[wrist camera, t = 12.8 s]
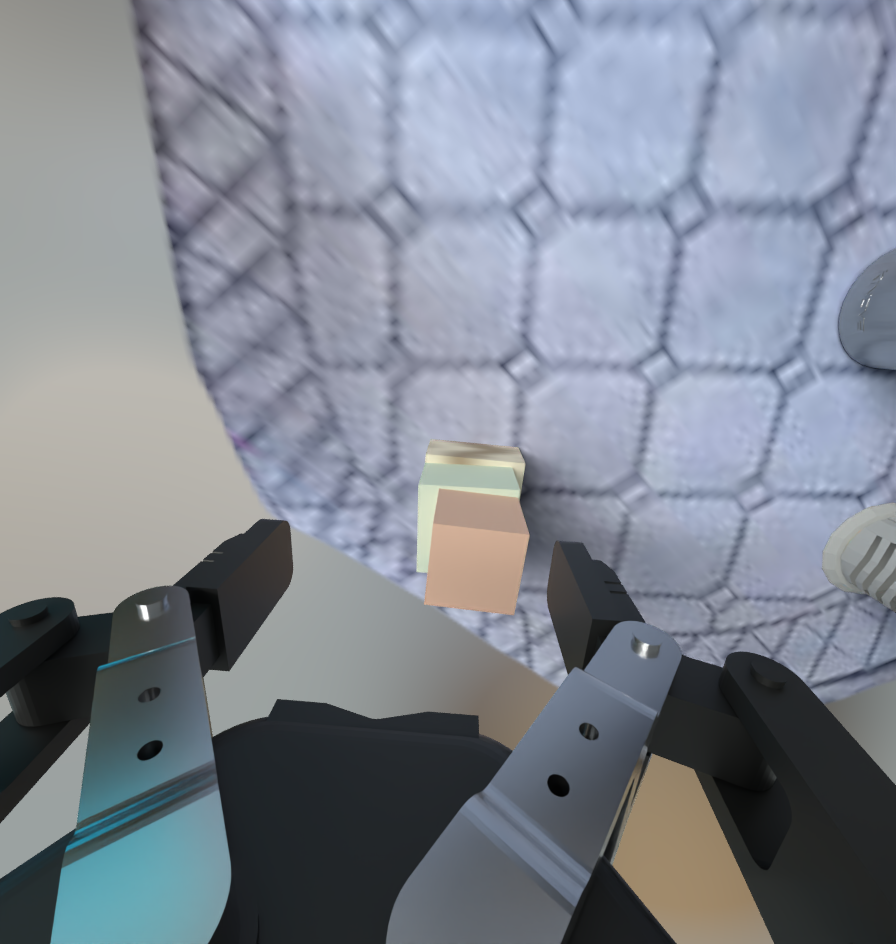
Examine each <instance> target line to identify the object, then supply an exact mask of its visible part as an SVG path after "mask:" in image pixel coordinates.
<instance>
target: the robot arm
mask: <svg viewBox="0 0 896 944" xmlns="http://www.w3.org/2000/svg"><path fill="white" fill-rule="evenodd" d="M839 333H840V339H841V342H842V344H843V346H844V348H845V350H846V352H847V353H848V354H849V355H850V356H851V357H852V358H853V359H854V360H856V361H857V362H859V363H860V364H862V365H865V366H868V367H871V368H881V369H892V370H896V249H894V250H892V251H890V252H888V253H886V254H884V255H883V256H881V257H880V258H878V259H877V260H876V261H875V262H873V263H872V264H871V265H869V266H868V267H867V268H866V269H865V270H864V272H863V273H862V274H861V275H860V276H859V277H858V278H857V279H856V281H855V282H854V284H853V285H852V287H851V288H850V290H849V292H848V294H847V296H846V298H845V300H844V302H843V305H842V309H841V313H840V317H839ZM292 574H293V560H292V546H291V532H290V525H289V523H288V522H287V521H283V520H270V519H260V520H259V521H258V522H256V523H255V524H254V525H253V526H252V527H251V528H250V529H249V530H248V531H246V533H244V534H239V535H237V536H235V537H233V538H230V539H228V540H226V541H224V542H223V543H222V544H221V545H219V547H217V548H216V549H215V550H214V551H213V553H210V554H209V555H208V556H207V557H206V558H204V559H203V562H200V563H199V564H198V565H196V566H195V567H194V568H193V569H192V570H190V571H189V572H188V573H187V574H186V575H185V576H184V577H182V578H181V579H180V580H179V581H178V582H177V583H175V584H174V585H173V586H160V587H154V588H150V589H146V590H144V591H140V592H138V593H136V594H134V595H132V596H130V597H128V598H127V599H125V600H124V601H122V602H121V603H120V604H119V605H118V606H117V607H116V608H115V610H114V612H113V613H105V614H97V615H89V616H80V617H78V616H77V613H76V609H75V606H74V603H73V601H72V600H70V599H67V598H61V597H52V598H44V599H38V600H34V601H30V602H27V603H24V604H21V605H18V606H16V607H13V608H11V609H9V610H7V611H4V612H3V613H1V614H0V697H2V696H3V695H4V694H5V693H6V695H7V697H8V700H9V702H10V705H11V708H12V710H13V711H12V712H11V713H10V714H9V715H8V716H6V717H5V718H4V719H3V720H2V721H1V722H0V823H1V822H2V821H3V820H4V819H5V817H6V816H7V815H8V814H9V813H10V812H11V811H12V809H13V808H14V807H15V806H16V805H17V804H18V803H19V801H21V800H22V798H23V797H24V796H25V795H26V794H27V793H28V792H29V791H30V789H31V788H32V787H33V786H34V785H35V784H36V783H37V781H39V779H40V778H41V777H42V776H43V775H44V774H45V773H46V772H47V770H48V769H49V768H50V767H51V766H52V765H53V764H54V763H55V761H56V760H57V759H58V758H59V757H60V756H61V755H62V754H63V753H64V751H65V750H66V749H67V748H68V747H69V746H70V745H71V744H72V742H73V741H74V740H75V739H76V738H77V737H78V735H80V734H81V732H82V731H83V730H84V729H85V728H86V727H87V726H88V724H89V723H90V727H89V734H88V742H87V749H86V757H85V765H84V772H83V780H82V788H81V796H80V803H79V811H78V818H77V825H76V828H75V829H74V830H73V831H71V832H69V833H68V834H66V835H65V836H63V837H62V838H60V839H59V840H58V841H56V842H55V843H53V844H52V845H50V846H49V847H47V848H46V849H44V850H43V851H41V852H40V853H38V854H37V855H35V856H34V857H32V858H31V859H29V860H28V861H26V862H25V863H23V864H22V865H20V866H19V867H17V868H16V869H14V870H13V871H11V872H10V873H9V874H7V875H5V876H4V877H2V878H1V879H0V944H676V943H675V941H674V940H673V939H672V938H671V936H670V935H669V934H668V933H667V932H666V931H665V929H664V928H663V927H662V926H661V924H660V923H659V922H658V921H657V919H656V918H655V917H654V916H653V915H652V913H651V912H650V911H649V910H648V909H647V907H646V906H645V905H644V904H643V902H642V901H641V900H640V899H639V898H638V896H637V895H636V894H635V893H634V891H633V890H632V889H631V888H630V887H629V885H628V884H627V883H626V882H625V881H624V879H623V878H622V877H621V876H620V874H619V873H618V872H617V871H616V870H615V868H614V867H613V866H612V864H613V861H614V858H615V855H616V852H617V849H618V847H619V843H620V840H621V837H622V834H623V831H624V829H625V826H626V823H627V820H628V817H629V815H630V812H631V810H632V807H633V804H634V802H635V799H636V796H637V793H638V790H639V788H640V786H641V783H642V780H643V778H644V775H645V772H646V770H647V767H648V764H649V762H650V759H651V756H652V754H655V755H658V756H661V757H663V758H666V759H668V760H671V761H674V762H677V763H679V764H682V765H685V766H687V767H690V768H692V769H694V770H695V772H696V774H697V777H698V779H699V781H700V783H701V785H702V788H703V790H704V792H705V794H706V796H707V798H708V801H709V803H710V805H711V807H712V809H713V811H714V814H715V816H716V818H717V820H718V822H719V824H720V827H721V829H722V831H723V833H724V835H725V838H726V840H727V842H728V844H729V846H730V848H731V850H732V853H733V855H734V857H735V859H736V861H737V864H738V866H739V868H740V870H741V872H742V875H743V877H744V879H745V881H746V883H747V885H748V887H749V890H750V892H751V894H752V896H753V898H754V901H755V903H756V905H757V907H758V909H759V911H760V914H761V916H762V918H763V920H764V922H765V925H766V927H767V929H768V931H769V933H770V935H771V938H772V940H773V942H774V944H896V785H895V784H894V783H893V782H892V781H891V780H890V779H889V777H887V775H886V774H885V773H884V772H883V771H882V770H881V768H880V767H879V766H878V765H877V764H876V763H875V762H874V761H873V759H872V758H871V757H870V756H869V755H868V754H867V753H866V751H865V750H864V749H863V748H862V747H861V746H860V745H859V744H858V742H857V741H856V740H855V739H854V738H853V737H852V736H851V735H850V734H849V732H848V731H847V730H846V729H845V728H844V727H843V726H842V724H841V723H840V722H839V721H838V720H837V719H836V718H835V717H834V715H833V714H832V713H831V712H830V711H829V710H828V709H827V708H826V706H825V705H824V704H823V703H822V702H821V701H820V700H819V699H818V697H817V696H816V695H815V694H814V693H813V692H812V691H811V690H810V688H809V687H808V686H807V685H806V684H805V683H804V682H803V681H802V680H801V679H800V678H799V677H798V676H797V675H796V674H795V673H793V672H792V671H791V670H789V669H788V668H786V667H785V666H783V665H781V664H780V663H778V662H776V661H774V660H771V659H769V658H767V657H764V656H761V655H758V654H754V653H750V652H734V653H731V654H729V655H728V656H727V658H726V661H725V663H724V666H723V668H722V667H719V666H716V665H712V664H709V663H705V662H702V661H699V660H695V659H692V658H689V657H686V656H684V655H682V652H681V649H680V647H679V645H678V644H677V643H676V641H675V640H674V639H673V638H672V637H671V636H669V635H668V634H667V633H665V632H664V631H662V630H660V629H659V628H657V627H655V626H652V625H649V624H646V623H645V621H644V619H643V618H642V616H641V615H640V613H639V611H638V610H637V608H636V606H635V605H634V603H633V601H632V600H631V598H630V597H629V595H628V594H627V592H626V590H625V588H624V587H623V585H621V582H620V580H619V579H618V577H617V575H616V574H615V572H614V571H613V570H612V569H611V568H609V567H608V566H607V565H606V564H604V563H603V562H602V561H599V560H592V559H591V557H590V555H589V553H588V551H587V549H586V548H585V546H584V544H583V543H579V542H566V541H556V543H555V545H554V549H553V555H552V562H551V568H550V574H549V580H548V587H547V603H548V608H549V612H550V615H551V619H552V622H553V626H554V629H555V632H556V636H557V639H558V643H559V646H560V649H561V653H562V656H563V660H564V663H565V666H566V670H567V673H568V676H567V678H566V679H565V680H564V682H563V683H562V684H561V686H560V687H559V688H558V690H557V691H556V693H555V694H554V695H553V697H552V698H551V700H550V701H549V702H548V704H547V705H546V707H545V708H544V709H543V710H542V712H541V713H540V715H539V716H538V717H537V719H536V720H535V721H534V723H533V724H532V726H531V727H530V728H529V730H528V731H527V733H526V734H525V735H524V737H523V738H522V739H521V741H520V742H519V743H518V745H517V746H516V748H515V749H514V750H513V751H512V750H510V749H509V748H508V747H506V746H504V745H503V744H501V743H500V742H498V741H495V740H493V739H491V738H489V737H487V736H484V735H481V734H479V724H478V723H479V722H478V721H479V720H478V716H475V715H462V714H450V713H438V712H423V713H417V714H410V715H403V716H397V717H390V718H383V719H371V718H368V717H365V716H362V715H359V714H356V713H353V712H350V711H347V710H344V709H341V708H339V707H336V706H333V705H330V704H327V703H317V702H305V701H293V700H281V699H277V701H276V703H275V705H274V707H273V709H272V711H271V713H270V714H269V716H268V717H264V718H260V719H255V720H251V721H248V722H245V723H242V724H239V725H236V726H234V727H232V728H230V729H228V730H225V731H223V732H221V733H219V734H218V735H216V736H214V737H213V734H212V728H211V722H210V715H209V709H208V703H207V697H206V691H205V685H204V679H203V677H204V676H205V674H206V673H207V672H208V671H209V670H221V671H230V669H231V668H232V666H233V665H234V664H235V662H236V661H237V659H238V658H239V656H240V655H241V654H242V652H243V651H244V649H245V648H246V647H247V645H248V644H249V642H250V641H251V639H252V638H253V637H254V635H255V634H256V632H257V631H258V629H259V628H260V627H261V625H262V624H263V622H264V621H265V620H266V618H267V617H268V615H269V614H270V612H271V611H272V610H273V608H274V607H275V605H276V604H277V602H278V601H279V599H280V598H281V597H282V595H283V594H284V592H285V591H286V590H287V588H288V587H289V584H290V582H291V578H292Z"/></svg>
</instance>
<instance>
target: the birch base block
mask: <svg viewBox="0 0 896 944" xmlns="http://www.w3.org/2000/svg"><path fill="white" fill-rule="evenodd" d="M425 463H442V464H460V465H479V466H498V467H512V468H513V471H514V474H515V477H516V480H517V483H518V486H519V488H520V495H521V489H522V482H523V476H524V470H525V461H524V459H523V457H522V455H521V452H520V450H519V448H518V447H508V446H498V445H487V444H477V443H466V442H455V441H445V440H434V439H431V440H430V443H429V446H428V449H427V452H426V458H425ZM520 495H519V502H520Z"/></svg>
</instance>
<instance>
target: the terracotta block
mask: <svg viewBox="0 0 896 944" xmlns="http://www.w3.org/2000/svg"><path fill="white" fill-rule="evenodd" d="M529 536H530V534H529V531H528V528H527V525H526V522H525V518H524V515H523V512H522V509H521V506H520V502H519V499H518V498H517V497H508V496H500V495H492V494H483V493H475V492H466V491H458V490H449V489H441V488H439V491H438V497H437V503H436V509H435V515H434V521H433V528H432V537H431V547H430V556H429V565H428V574H427V583H426V592H425V602H424V604H425V605H433V606H441V607H449V608H458V609H466V610H475V611H483V612H491V613H500V614H508V615H514V612H515V607H516V602H517V597H518V592H519V587H520V581H521V576H522V571H523V566H524V561H525V556H526V551H527V546H528V541H529Z"/></svg>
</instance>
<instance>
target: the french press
mask: <svg viewBox="0 0 896 944" xmlns="http://www.w3.org/2000/svg"><path fill="white" fill-rule="evenodd" d="M822 569H823V571H824V573H825V575H826V576H827V578H828V580H829V582H830V583H831V584H833V585H835V586H836V587H838V588H839V589H841V590H843V591H845V592H852V593H858V594H868V595H869V596H870V597H872V598H874V599H875V600H877V601H878V602H880V603H882V604H883V605H884V606H886V607H887V608H889V609H891V610H892V611H894V612H895V613H896V503H888V504H883V505H878V506H873V507H869V508H867V509H865V510H863V511H861V512H859V513H857V514H855V515H853V516H851V517H849V518H848V519H847V520H846V521H845V522H844V523H843V524H842V525H841V526H839V527H838V528H837V529H836V530H835V531H834V532H833V533H832V534H831V536H830V538H829V540H828V542H827V544H826V546H825V548H824V550H823V562H822Z"/></svg>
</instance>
